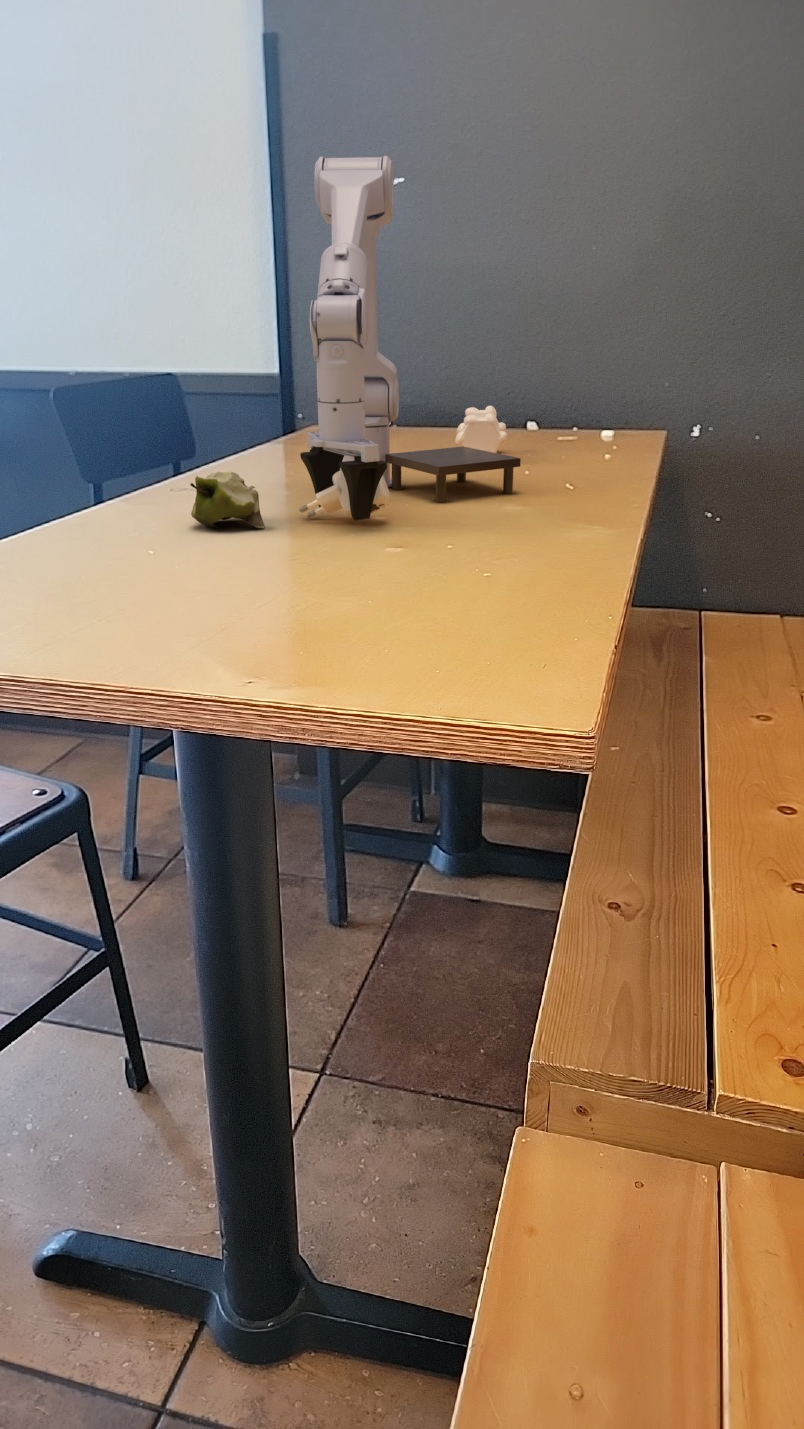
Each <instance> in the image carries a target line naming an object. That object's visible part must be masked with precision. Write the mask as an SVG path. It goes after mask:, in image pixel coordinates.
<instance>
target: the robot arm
mask: <svg viewBox="0 0 804 1429" xmlns="http://www.w3.org/2000/svg"><path fill="white" fill-rule="evenodd" d="M314 164H315V165H314V176H313V177H314V194H315V195H314V196H315V202H316V205H317V207H318V208H319V212H320V213H321V216H322V218H323V219H324V221H325V224H328V225H331V245H330V246H328V247H326V249H325V250H324V251H323V253H322V254H321V258H320V267H319V277H318V287H317V296H316V299H315V300H314V299H312V300H311V301H310V306H309V330H310V331H309V332H310V336H311V342H312V351H313V361H314V362H315V363H316V391H317V392H316V395H317V397H316V398H317V422H318V423H317V425H318V428H317V429H318V431H308V432H307V447H308V448H309V451H303V452H300V454H299V455H300V459H301V461H302V463H303V464H304V466H305V468H306V470H307V472H308V474H309V477H310V480H311V483H312V487H313V489H314V494H315V495H316V494H317V493H319V492H321V491H323V490H325V489H327V488H329V487H331V486H333V485H334V484H333V481H332V476H333V475H334V474H335V473H336V472H338V471H340V470H342V472H343V474H344V477H345V480H346V484H347V488H348V493H349V502H350V510H351V515H352V518H351V519H352V520H354V521H363V520H369V519H370V517H371V514H372V513H371V510H372V505H373V501H374V497H375V493H376V490H377V487H378V484H379V482H380V480H381V477H382V476H384V479H385V481H386V484H387V487H388V488H390V487H391V488H392V478H391V466H390V465H391V464H390V463H387V462H385V454H391V452H390V451H391V450H390V448H391V447H390V445H391V444H390V443H391V441H390V440H391V439H390V424H391V423H392V422H395V421H396V420H397V419H398V417H399V412H400V411H399V410H400V386H399V380H398V369H397V367H396V365H395V363H393V362H392V361H391V360H390V359H388V358H387V357H386V356H384V355H383V354H382V353H381V352H380V351H379V335H378V334H379V332H378V331H379V328H378V327H379V326H378V287H377V286H378V278H377V276H378V275H377V240H378V236H379V232H380V229H381V228H382V227H384V226H386V225H388V224H390V223H392V221H393V216H394V194H395V192H394V191H395V190H394V189H395V188H394V187H395V186H394V184H395V183H394V182H395V181H394V163H393V160H391V159H390V157H389V156H388V155H383V156H376V157H375V156H374V157H373V156H372V157H371V156H367V157H365V156H363V157H362V156H361V157H360V156H359V157H325V156H319V157H318V159H317V160H316V162H315V163H314ZM320 507H321V506H320V504H319V505H318V508H320Z"/></svg>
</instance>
